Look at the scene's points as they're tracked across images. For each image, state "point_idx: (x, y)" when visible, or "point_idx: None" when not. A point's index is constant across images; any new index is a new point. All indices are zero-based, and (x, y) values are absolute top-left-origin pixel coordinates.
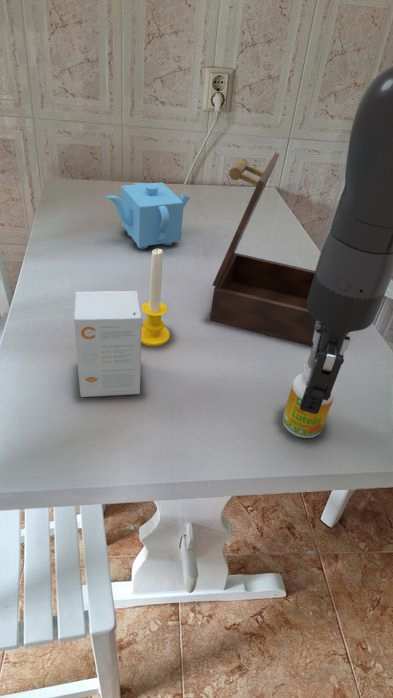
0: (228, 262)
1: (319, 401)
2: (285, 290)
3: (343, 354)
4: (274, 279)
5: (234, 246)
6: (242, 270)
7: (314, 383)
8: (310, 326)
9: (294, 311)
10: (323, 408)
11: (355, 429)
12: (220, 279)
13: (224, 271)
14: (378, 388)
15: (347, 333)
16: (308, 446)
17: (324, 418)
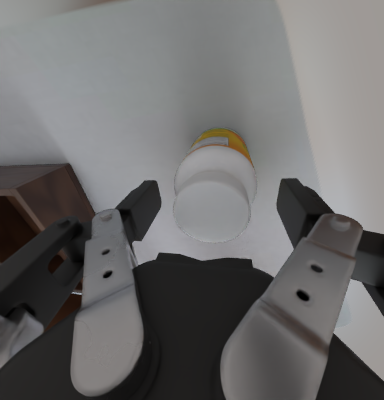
0: (53, 318)
1: (330, 209)
2: (12, 213)
3: (333, 328)
4: (10, 233)
5: None
6: None
7: (363, 279)
8: (48, 188)
9: (48, 222)
10: (248, 158)
11: (194, 67)
12: (79, 301)
13: (65, 302)
14: (70, 37)
15: (143, 328)
16: (258, 139)
17: (235, 139)
